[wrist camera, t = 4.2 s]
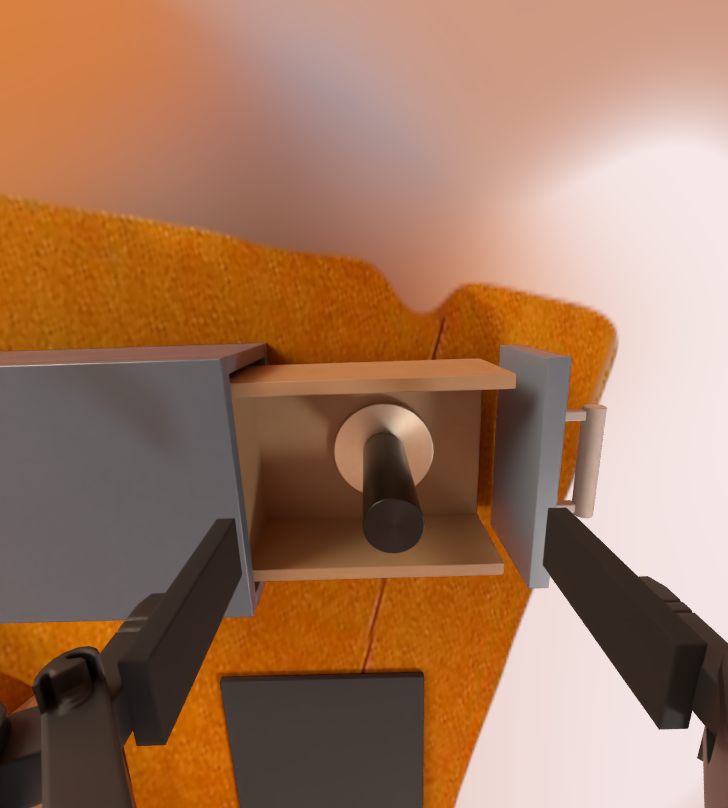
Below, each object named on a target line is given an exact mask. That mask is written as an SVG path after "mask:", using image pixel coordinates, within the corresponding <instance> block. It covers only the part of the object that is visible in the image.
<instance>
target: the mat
mask: <svg viewBox="0 0 728 808" xmlns="http://www.w3.org/2000/svg"><path fill="white" fill-rule="evenodd" d="M220 686H221V692H222V698H223V704H224V710H225V717H226V723H227V729H228V735H229V742H230V748H231V754H232V760H233V767H234V773H235V779H236V785H237V791H238V798H239V804H240V808H423V730H424V674H423V672H409V673H369V674H328V675H288V676H248V677H222V678H221V681H220Z"/></svg>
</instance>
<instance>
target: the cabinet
mask: <svg viewBox="0 0 728 808" xmlns="http://www.w3.org/2000/svg"><path fill="white" fill-rule="evenodd" d="M258 365H269V360H268V350H267V343H242V344H212V345H182V346H151V347H121V348H91V349H61V350H31V351H1V352H0V623H35V622H73V621H111V620H127V618H128V616H129V615H130V614H131V612H132V611H133V610H134V608H135V607H136V606H137V605H138V604H139V603H140V602H142V601H143V600H144V599H145V598H147V597H148V596H149V595H150V594H152V593H166V591H167V590H168V588H169V587H170V585H171V584H172V583H173V581H174V580H175V578H176V577H177V575H178V574H179V572H180V571H181V570H182V568H183V567H184V565H185V564H186V562H187V561H188V560H189V558H190V557H191V555H192V554H193V552H194V551H195V549H196V548H197V547H198V545H199V544H200V542H201V541H202V539H203V538H204V536H205V535H206V534H207V532H208V531H209V529H210V528H211V526H212V525H213V523H214V522H215V521H216V519H226V518H235V523H236V530H237V538H238V546H239V553H240V561H241V569H242V576H241V579H240V581H239V583H238V585H237V587H236V590H235V592H234V594H233V596H232V599H231V601H230V603H229V605H228V607H227V610H226V612H225V614H224V616H223V618H225V617H253V615H254V612H255V610H256V607H257V605H258V602H259V599H260V596H261V594H262V591H263V588H264V585H265V583H266V581H254V576H253V568H252V560H251V551H250V543H249V535H248V527H247V519H246V511H245V502H244V494H243V486H242V478H241V470H240V461H239V453H238V445H237V437H236V429H235V420H234V412H233V404H232V396H231V388H230V380H229V374H230V373H232V372H234V371H236V370H238V369H240V368H242V367H244V366H258Z"/></svg>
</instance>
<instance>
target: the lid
mask: <svg viewBox="0 0 728 808" xmlns="http://www.w3.org/2000/svg"><path fill="white" fill-rule="evenodd" d="M433 454H434V445H433V439H432V436H431V433H430V431H429V429H428V427H427V425H426V424H425V422H424V421H423V419H422V418H421V417H420V416H419V415H418V414H416V413H415V412H414V411H413V410H411V409H409V408H408V407H405V406H403V405H400V404H397V403H392V402H375V403H371V404H368V405H365V406H362V407H360V408H359V409H357V410H355V411H354V412H352V413H351V414H350V415H349V416H348V417H347V418H346V419H345V420H344V422H343V423H342V425H341V426H340V428H339V430H338V432H337V435H336V438H335V443H334V459H335V463H336V466H337V469H338V471H339V473H340V474H341V476H342V477H343V479H344V480H345V481H346V482H347V483H348V484H349V485H350V486H351V487H353V488H354V489H356V490H357V491H359V492H361V493H363V523H362V527H363V533H364V536H365V538H366V539H367V541H368V542H369V543H370V544H371V545H372V546H373V547H374V548H376V549H377V550H379V551H382V552H385V553H401V552H405V551H407V550H409V549H411V548H413V547H414V546H415V545H416V544H417V543H418V542H419V541H420V539H421V538H422V536H423V533H424V530H425V520H424V516H423V513H422V509H421V506H420V502H419V499H418V495H417V492H416V488H415V486H416V485H418V484H419V483H420V482H421V481H422V480H423V478H424V477H425V476H426V474H427V473H428V471H429V469H430V466H431V464H432V460H433Z"/></svg>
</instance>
